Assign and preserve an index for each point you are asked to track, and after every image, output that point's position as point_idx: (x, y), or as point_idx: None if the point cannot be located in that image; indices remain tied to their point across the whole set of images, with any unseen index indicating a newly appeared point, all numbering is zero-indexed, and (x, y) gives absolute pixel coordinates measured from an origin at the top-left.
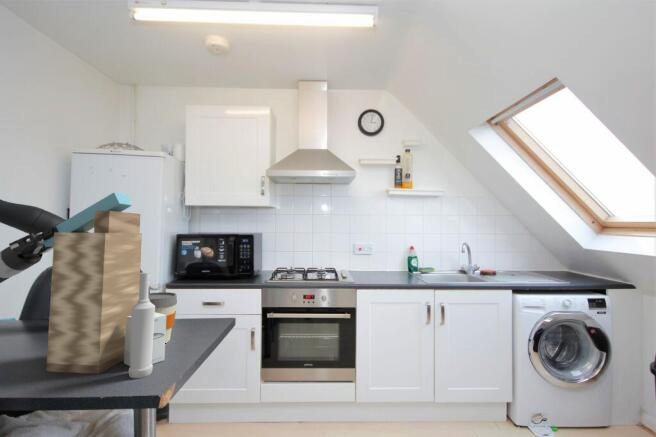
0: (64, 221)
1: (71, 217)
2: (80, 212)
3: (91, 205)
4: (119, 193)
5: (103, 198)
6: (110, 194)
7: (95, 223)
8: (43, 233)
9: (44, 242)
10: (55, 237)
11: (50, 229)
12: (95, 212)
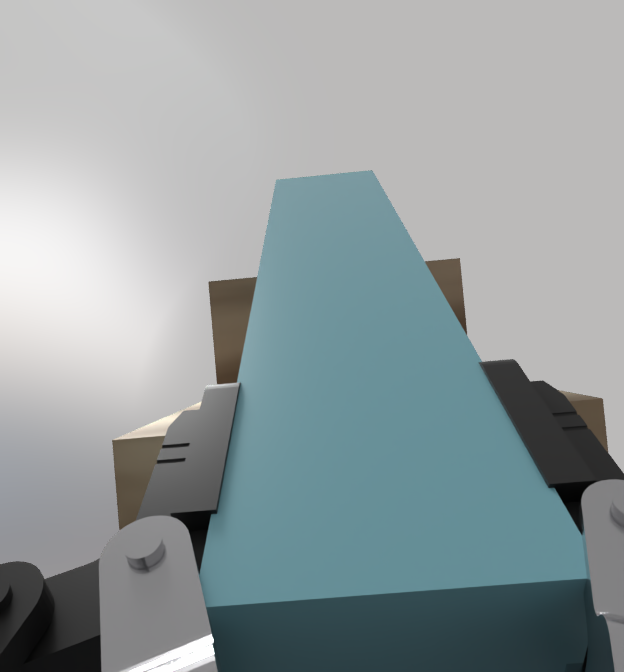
0: (444, 300)
1: (426, 268)
2: (410, 239)
3: (393, 207)
4: (332, 174)
5: (380, 185)
6: (374, 175)
7: (465, 328)
8: (608, 471)
9: (568, 660)
10: (600, 442)
11: (546, 395)
12: (460, 268)
